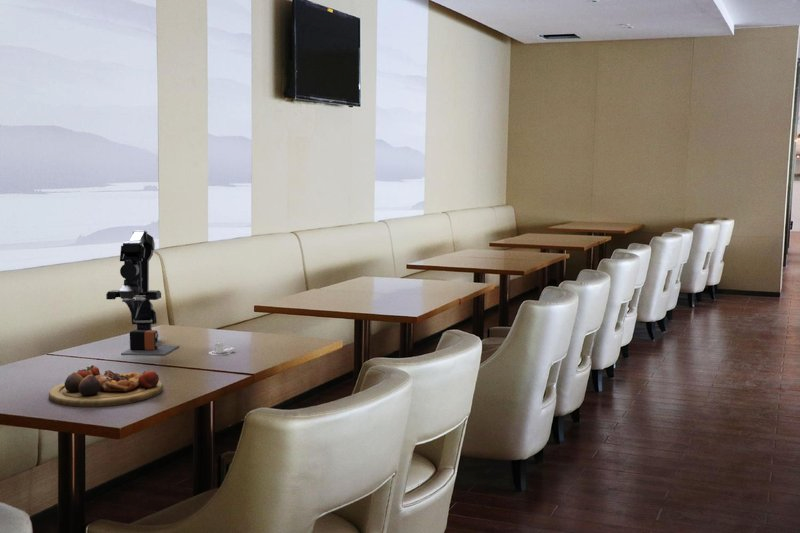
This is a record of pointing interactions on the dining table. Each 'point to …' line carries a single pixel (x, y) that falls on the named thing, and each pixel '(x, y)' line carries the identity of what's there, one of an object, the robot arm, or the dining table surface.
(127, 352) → the mat
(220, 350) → the teacup and saucer
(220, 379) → the dining table surface
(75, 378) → the wooden plate with food
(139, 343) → the battery
